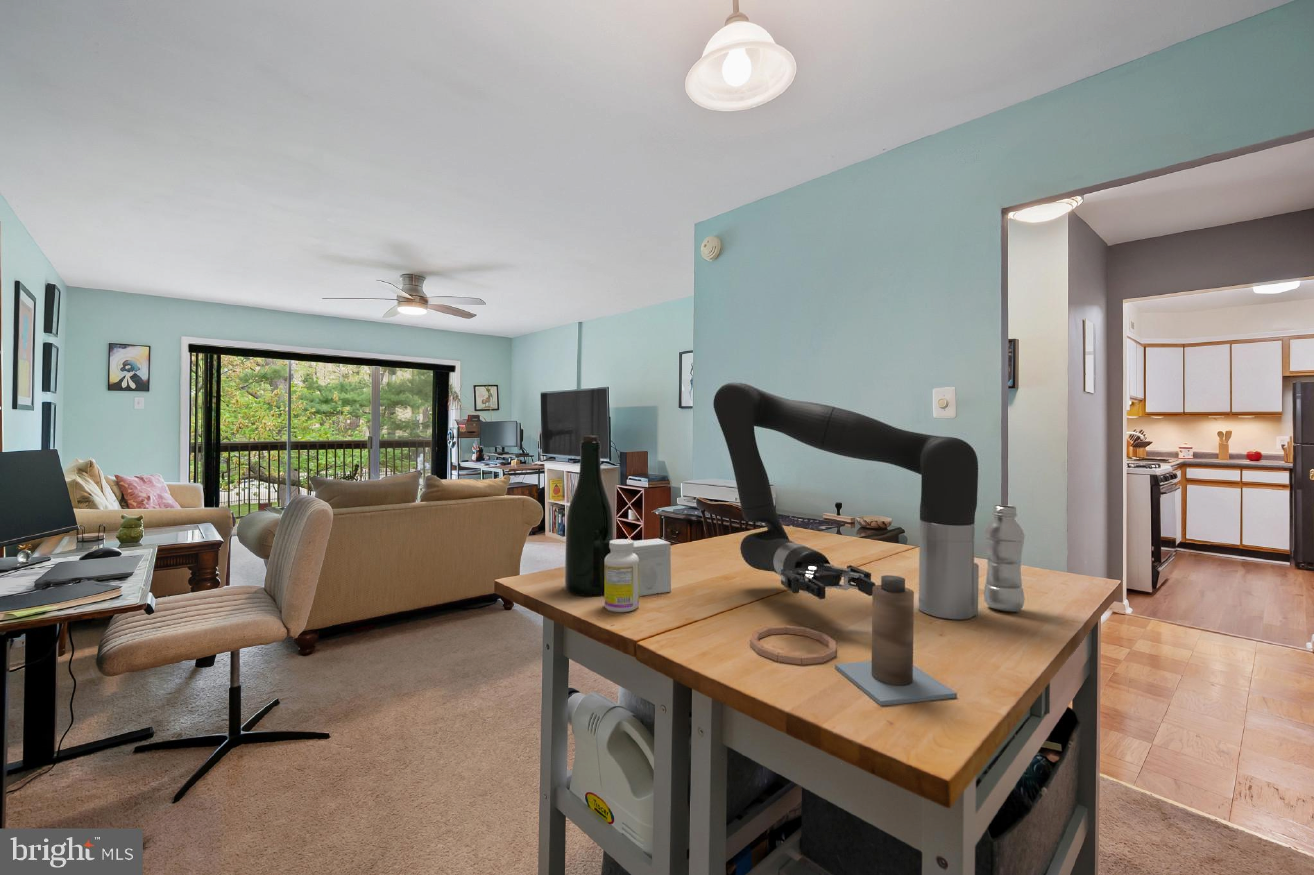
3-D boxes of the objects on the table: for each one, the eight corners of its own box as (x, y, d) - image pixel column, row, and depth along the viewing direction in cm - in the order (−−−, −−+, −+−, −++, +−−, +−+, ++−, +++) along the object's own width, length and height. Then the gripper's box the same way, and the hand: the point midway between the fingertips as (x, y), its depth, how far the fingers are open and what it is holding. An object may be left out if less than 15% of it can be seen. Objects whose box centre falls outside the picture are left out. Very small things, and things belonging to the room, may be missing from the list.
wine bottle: (593, 600, 111) (594, 435, 110) (554, 591, 116) (555, 435, 116) (624, 587, 119) (624, 435, 119) (586, 580, 125) (587, 434, 124)
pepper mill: (897, 667, 78) (898, 572, 78) (921, 684, 73) (922, 582, 73) (863, 670, 77) (865, 574, 77) (886, 687, 72) (887, 583, 72)
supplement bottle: (619, 600, 111) (619, 536, 110) (645, 606, 107) (646, 540, 107) (596, 608, 105) (597, 541, 105) (623, 615, 101) (624, 546, 101)
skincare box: (658, 584, 122) (658, 537, 122) (671, 592, 116) (672, 542, 116) (614, 590, 118) (614, 541, 118) (625, 598, 112) (626, 547, 112)
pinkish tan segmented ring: (810, 629, 95) (810, 623, 95) (852, 660, 82) (852, 653, 82) (739, 634, 92) (739, 628, 92) (771, 667, 80) (771, 660, 80)
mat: (902, 662, 82) (902, 658, 82) (957, 697, 71) (957, 692, 71) (834, 668, 80) (834, 664, 80) (880, 705, 69) (880, 700, 69)
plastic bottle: (1025, 617, 101) (1026, 509, 101) (982, 611, 105) (984, 506, 105) (1023, 608, 107) (1025, 505, 107) (983, 602, 111) (984, 503, 110)
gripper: (764, 547, 101) (806, 569, 85) (836, 544, 104) (889, 565, 88) (764, 588, 101) (806, 618, 85) (835, 584, 104) (889, 612, 88)
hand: (848, 591), depth 86 cm, fingers open, 8 cm apart
